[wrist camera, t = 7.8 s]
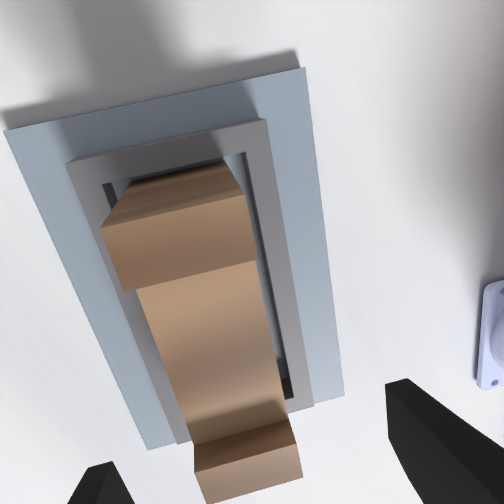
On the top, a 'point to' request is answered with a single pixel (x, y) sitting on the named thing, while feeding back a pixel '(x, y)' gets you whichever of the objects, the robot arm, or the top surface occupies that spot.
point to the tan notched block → (207, 322)
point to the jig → (259, 207)
